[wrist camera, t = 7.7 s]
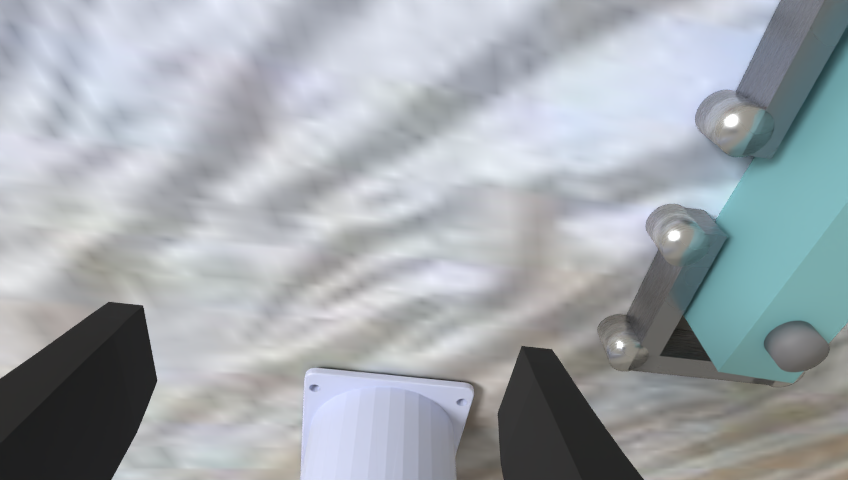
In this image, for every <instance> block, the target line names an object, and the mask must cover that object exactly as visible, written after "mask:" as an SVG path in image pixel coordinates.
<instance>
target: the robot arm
mask: <svg viewBox="0 0 848 480" xmlns="http://www.w3.org/2000/svg"><path fill="white" fill-rule="evenodd" d="M156 383H157V376H156V371H155V366H154V361H153V355H152V350H151V345H150V340H149V334H148V329H147V324H146V319H145V313H144V308H143V306H142V305H133V304H124V303H114V302H108V303H107V304H105V305H104V306H102V307H101V308H99V309H98V310H96V311H95V312H94V313H92V314H91V315H89V316H88V317H87V318H85V319H84V320H83V321H81V322H80V323H78V324H77V325H76V326H74V327H73V328H71V329H70V330H69V331H67V332H66V333H64V334H63V335H62V336H60V337H59V338H57V339H56V340H55V341H53V342H52V343H50V344H49V345H48V346H46V347H45V348H43V349H42V350H41V351H39V352H38V353H36V354H35V355H34V356H32V357H31V358H29V359H28V360H27V361H25V362H24V363H22V364H21V365H19V366H18V367H17V368H15V369H14V370H12V371H11V372H9V373H8V374H6V375H5V376H4V377H2V378H1V379H0V480H111V479H112V477H113V476H114V474H115V472H116V470H117V468H118V466H119V465H120V463H121V461H122V459H123V457H124V455H125V453H126V452H127V450H128V448H129V446H130V444H131V442H132V440H133V439H134V437H135V435H136V433H137V431H138V428H139V426H140V423H141V421H142V419H143V416H144V414H145V411H146V409H147V406H148V404H149V401H150V399H151V396H152V393H153V391H154V388H155V385H156ZM313 384H315V385H313ZM473 398H474V388H473V386H472V385H471V384H469V383H465V382H455V381H445V380H435V379H425V378H415V377H405V376H395V375H385V374H375V373H365V372H355V371H345V370H334V369H324V368H311V369H309V370H308V371H307V372H306V375H305V379H304V403H303V429H302V455H301V477H300V480H457V477H456V461H455V456H456V452H457V449H458V446H459V443H460V440H461V436H462V433H463V430H464V427H465V423H466V420H467V417H468V414H469V410H470V407H471V404H472V401H473ZM498 425H499V443H500V457H501V466H502V472H503V478H504V480H644V479H643V478H642V477H641V475H640V474H639V473H638V472H637V470H636V469H635V468H634V466H633V465H632V464H631V462H630V461H629V460H628V458H627V457H626V456H625V454H624V453H623V452H622V450H621V449H620V447H619V446H618V445H617V443H616V442H615V441H614V439H613V438H612V436H611V435H610V434H609V432H608V431H607V430H606V428H605V427H604V425H603V424H602V423H601V421H600V420H599V418H598V417H597V415H596V414H595V413H594V411H593V410H592V408H591V407H590V405H589V404H588V402H587V401H586V399H585V398H584V396H583V395H582V393H581V392H580V390H579V389H578V387H577V386H576V384H575V383H574V381H573V380H572V378H571V377H570V375H569V374H568V372H567V371H566V369H565V368H564V366H563V365H562V363H561V362H560V360H559V359H558V357H557V356H556V355H555V353H554V352H553V350H552V349H544V348H534V347H525V346H522V347H521V350H520V353H519V355H518V358H517V361H516V364H515V367H514V369H513V372H512V375H511V378H510V381H509V383H508V386H507V389H506V392H505V395H504V397H503V400H502V403H501V406H500V409H499V411H498Z"/></svg>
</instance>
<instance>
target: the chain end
mask: <svg viewBox="0 0 848 480" xmlns="http://www.w3.org/2000/svg"><path fill="white" fill-rule="evenodd" d="M646 231H647V233H648V234H649V236H650V237H651V239H652V240H653V242H654V243H655V245H656V246H657V248H658V249H659V250H658V252H657V254H656V256H655V258H654V260H653V262H652V264H651V266H650V268H649V270H648V272H647V274H646V276H645V279H644V281H643V283H642V285H641V287H640V289H639V291H638V293H637V295H636V297H635V299H634V301H633V303H632V305H631V307H630V309H629V311H628V313H627V315H622V314H617V315H612V316H609V317H607V318H606V319H604V320H603V321H602V322H601V323H600V324H599V326H598V334H599V337H600V339H601V342H602V344H603V347H604V349H605V352H606V354H607V357H608V359H609V362H610V364H611V366H612V367H613V368H614V369H616V370H619V371H642V372H651V373H661V374H670V375H680V376H689V377H699V378H709V379H718V380H728V381H737V382H747V383H756V384H766V385H770V386H772V387H785V386H788V385H791V384H793V383H788V382H781V381H775V380H768V379H762V378H755V377H749V376H743V375H736V374H730V373H723V372H718V370H717V369H716V367H715V366H714V364H713V362H712V361H711V359H710V358H709V356H708V354H707V353H706V351H705V349H704V348H703V346H702V345H701V343H700V341H699V340H698V338H697V337H696V335H695V333H694V332H693V331H685V330H676V329H675V328H676V326H677V324H678V322H679V321H680V319H681V317H682V315H683V314H684V312H685V310H686V308H687V307H688V305H689V303H690V301H691V300H692V298H693V296H694V294H695V293H696V291H697V289H698V287H699V286H700V284H701V282H702V280H703V278H704V277H705V275H706V273H707V271H708V270H709V268H710V266H711V264H712V263H713V261H714V259H715V257H716V256H717V254H718V252H719V250H720V249H721V247H722V245H723V243H724V242H725V240H726V238H727V236H726V234H725V233H724V232H723V231H722V230H721V229H720V228H719V227H718V225H717V224H716V223H715V222H714V221H713V220H712V219H711V217H710V216H709V215H708V214H707V213H706V212H705V211H704V210H697V209H690V208H684V207H682V206H680V205H677V204H667V205H664V206H661V207H659V208H657V209H656V210H654V211H653V212H652V213H651V214H650V216H649V217H648V219H647V221H646ZM804 373H805V371H804V372H803V373H802V374H801V375H800V376H799V377H798V379H797V380H796V381H795V382H797V381H798V380H799V379H801V378H802V376H803V375H804ZM795 382H794V383H795Z"/></svg>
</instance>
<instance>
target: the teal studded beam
mask: <svg viewBox="0 0 848 480" xmlns="http://www.w3.org/2000/svg"><path fill="white" fill-rule="evenodd" d="M715 223H716V224H717V225H718V227H719V228H720V229H721V230H722V231H723V232H724V233H725V234H726V236H727V238H726V240H725V242H724V243H723V245H722V247H721V249H720V250H719V252H718V254H717V256H716V257H715V259H714V261H713V263H712V264H711V266H710V268H709V270H708V271H707V273H706V275H705V277H704V278H703V280H702V282H701V284H700V286H699V287H698V289H697V291H696V293H695V294H694V296H693V298H692V300H691V301H690V303H689V305H688V307H687V308H686V310H685V312H684V314H683V316H684V317H685V319H686V320H687V322H688V324H689V325H690V327H691V329H692V330H693V332H694V333H695V335H696V337H697V338H698V340H699V341H700V343H701V345H702V346H703V348H704V349H705V351H706V353H707V354H708V356H709V358H710V359H711V361H712V362H713V364H714V366H715V367H716V369H717V370H718V372H723V373H730V374H736V375H743V376H749V377H755V378H762V379H768V380H775V381H781V382H788V383H794V382H795V381H796V380H797V379H798V377H799V376H800V375H801V374H802V373H803V372H804V371H805V370H808V369H811V368H813V367H815V366H817V365H818V364H820V363H821V362H822V361H823V360H824V359H825V358H826V357H827V355H828V353H829V350H830V347H829V343H830V341H831V340H832V339H833V338H834V337H835V336H836V335H837V334H838V333H839V331H840V330H841V329H842V328H843V327H844V326H845V325H846V324H847V322H848V25H847V27H846V29H845V31H844V32H843V34H842V36H841V38H840V39H839V41H838V43H837V45H836V46H835V48H834V50H833V52H832V53H831V55H830V57H829V59H828V60H827V62H826V64H825V66H824V67H823V69H822V71H821V73H820V75H819V76H818V78H817V80H816V82H815V83H814V85H813V87H812V89H811V90H810V92H809V94H808V96H807V97H806V99H805V101H804V103H803V104H802V106H801V108H800V110H799V111H798V113H797V115H796V117H795V118H794V120H793V122H792V124H791V126H790V127H789V129H788V131H787V133H786V134H785V136H784V138H783V140H782V141H781V143H780V145H779V147H778V148H777V150H776V152H775V154H774V155H773V157H772V159H766V158H760V157H754V159H753V160H752V162H751V164H750V165H749V167H748V169H747V170H746V172H745V173H744V175H743V177H742V178H741V180H740V182H739V183H738V185H737V186H736V188H735V190H734V191H733V193H732V195H731V196H730V198H729V199H728V201H727V203H726V204H725V206H724V208H723V209H722V211H721V212H720V214H719V216H718V217H717V219H716V221H715Z"/></svg>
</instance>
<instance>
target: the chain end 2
mask: <svg viewBox="0 0 848 480" xmlns="http://www.w3.org/2000/svg"><path fill="white" fill-rule="evenodd" d="M847 25H848V0H781V1H780V3H779V5H778V7H777V9H776V11H775V13H774V15H773V17H772V19H771V21H770V23H769V25H768V27H767V29H766V31H765V33H764V35H763V37H762V40H761V42H760V44H759V46H758V48H757V50H756V52H755V54H754V56H753V58H752V60H751V62H750V64H749V66H748V68H747V70H746V72H745V74H744V76H743V78H742V80H741V82H740V84H739V87H738V89H737V91H733V90H721V91H718V92H715V93H713V94H711V95H710V96H708V97H707V98H706V99H705V100H704V101H703V102H702V103H701V104H700V106H699V108H698V109H697V112H696V116H695V123H696V126H697V128H698V129H699V131H701V132H702V133H703V134H704V135H705V136H706V137H708V138H709V139H710V140H711V141H712V142H713V143H715V144H716V145H717V146H718V147H719V148H720V149H722V150H723V151H724V152H725V153H726V154H728V155H730V156H733V157H745V156H753V157H760V158H766V159H772V157H773V155H774V154H775V152H776V150H777V148H778V147H779V145H780V143H781V141H782V140H783V138H784V136H785V134H786V133H787V131H788V129H789V127H790V126H791V124H792V122H793V120H794V118H795V117H796V115H797V113H798V111H799V110H800V108H801V106H802V104H803V103H804V101H805V99H806V97H807V96H808V94H809V92H810V90H811V89H812V87H813V85H814V83H815V82H816V80H817V78H818V76H819V75H820V73H821V71H822V69H823V67H824V66H825V64H826V62H827V60H828V59H829V57H830V55H831V53H832V52H833V50H834V48H835V46H836V45H837V43H838V41H839V39H840V38H841V36H842V34H843V32H844V31H845V29H846V27H847Z"/></svg>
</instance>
